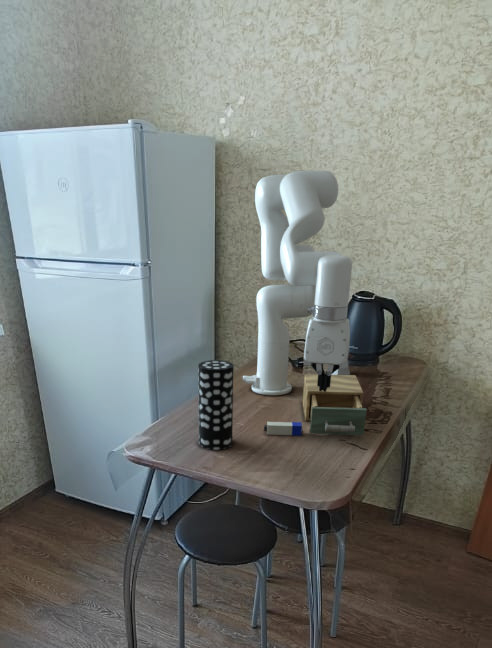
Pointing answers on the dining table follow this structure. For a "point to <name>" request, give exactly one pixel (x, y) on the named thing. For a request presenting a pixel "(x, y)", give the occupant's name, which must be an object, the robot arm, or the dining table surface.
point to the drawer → (337, 414)
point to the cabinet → (330, 389)
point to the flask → (342, 371)
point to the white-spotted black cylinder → (215, 404)
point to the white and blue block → (283, 428)
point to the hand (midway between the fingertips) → (323, 389)
